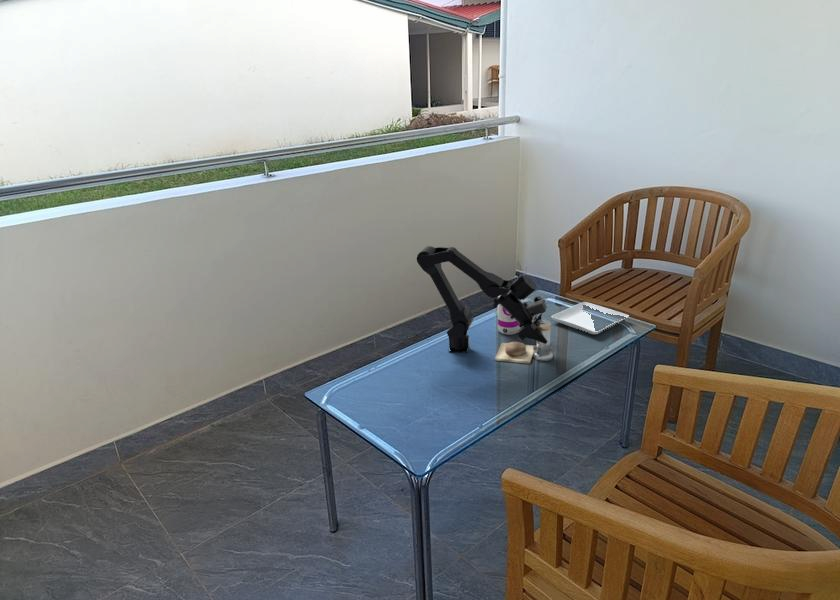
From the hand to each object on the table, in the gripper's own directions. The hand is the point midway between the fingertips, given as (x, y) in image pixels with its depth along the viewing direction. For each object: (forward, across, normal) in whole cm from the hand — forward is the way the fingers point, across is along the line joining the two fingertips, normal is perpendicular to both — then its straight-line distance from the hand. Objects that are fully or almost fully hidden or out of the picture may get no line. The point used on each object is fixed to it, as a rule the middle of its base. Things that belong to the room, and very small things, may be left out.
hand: (547, 339), depth 202 cm
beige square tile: (-3, 0, +12) cm, 13 cm away
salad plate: (+13, +31, -3) cm, 34 cm away
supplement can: (-7, +18, +17) cm, 26 cm away
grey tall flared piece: (+4, 0, +6) cm, 7 cm away
